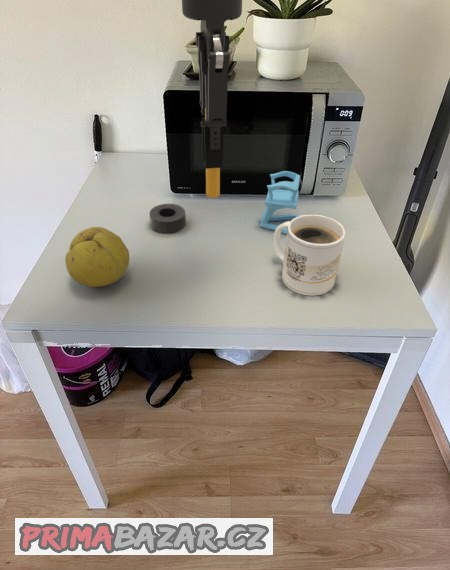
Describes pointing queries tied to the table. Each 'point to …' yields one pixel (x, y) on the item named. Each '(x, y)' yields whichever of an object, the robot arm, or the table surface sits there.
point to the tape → (167, 218)
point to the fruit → (97, 257)
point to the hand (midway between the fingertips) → (212, 162)
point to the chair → (280, 199)
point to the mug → (310, 253)
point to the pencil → (212, 180)
